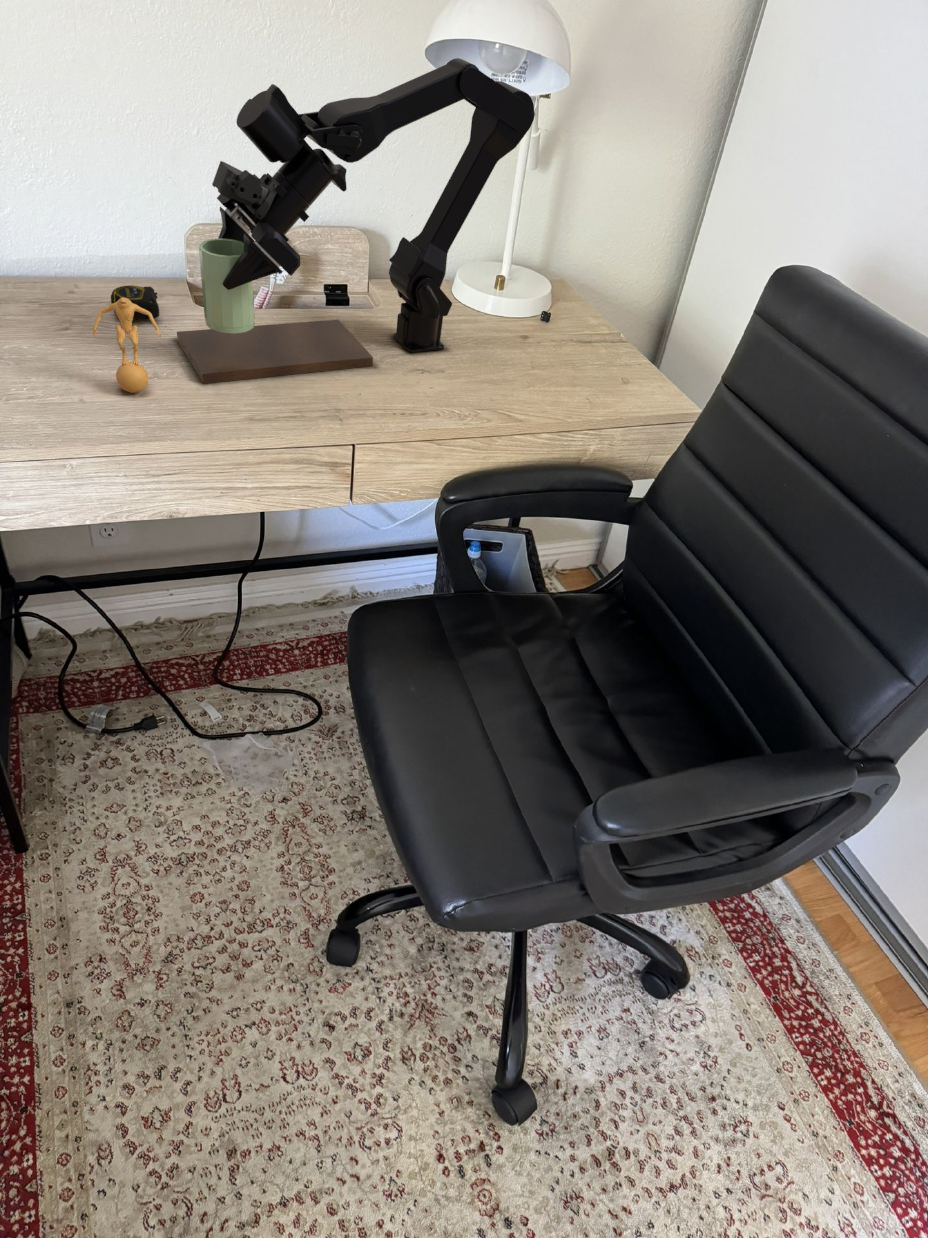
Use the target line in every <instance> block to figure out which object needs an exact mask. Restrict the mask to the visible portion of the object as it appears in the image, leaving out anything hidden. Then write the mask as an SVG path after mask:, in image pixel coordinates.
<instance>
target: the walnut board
mask: <svg viewBox="0 0 928 1238" xmlns="http://www.w3.org/2000/svg"><path fill="white" fill-rule="evenodd" d="M176 339H177V340H176V341H177V342H178V344H179V346H180V348H181V350H182V351H183V352H184V354H185V356H186V358H187V359H188V361H189V362H190V364H191V366H192V368H193V370H194V371H195V373H196V374H197V376H198V378H199V379H200V381H201V382H202V384H203V385H205V384H213V383H214V384H215V383H222V382H224V383H225V382H232V381H242V380H243V381H244V380H253V379H263V378H271V377H280V376H290V375H291V376H292V375H301V374H310V373H319V372H329V371H338V370H347V369H357V368H366V367H367V368H369V367H373V362H374V357H373V355H372V354H371V353H370V352H369V351H368V350H367V349H366V347H364V346H363V344H362V343H361V342H360V341H359V339H357V338H356V336H354V334H352V332H351V331H350V330H349V329H348V328H347V327H346V326H345V325H344V324H343V323H342V322H341V320H340V319H327V320H314V321H299V322H286V323H273V324H261V325H254V327H253V328H252V329H251V330H249V331H247V332H243V333H222V332H218V331H215V330H212V329H210V328H207V329H193V330H181V331H180V330H179V331H176Z"/></svg>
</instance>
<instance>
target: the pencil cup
mask: <svg viewBox="0 0 928 1238" xmlns="http://www.w3.org/2000/svg"><path fill="white" fill-rule="evenodd" d="M198 251H199V252H198V255H199V266H200V267H199V268H200V278H201V291H202V302H203V314H204V321H205V322H204V323H205V325H206V326H207V328H208V329H212V330H215V331H218V332H222V333H243V332H247V331H249V330H251V329H252V328H253V327H254V326H256V323H255V318H256V316H255V315H256V314H255V293H254V291H255V290H254V281H251V282H248V283H246V284H243V285H241V286H238V287H236V288H233V289H230V290H228V289H226V288H225V287H224V286H223V282H224V280H225V278H226V277H227V275H228V273H229V272H230V270H231V269H232V267H233V266H234V264H235V263H236V261H237V260H238V258H239V257H240V256H241V254H242V253H243V251H244V242H241V241H237V240H233V239H222V238H221V239H218V238H210V239H205V240H203V241H201V242H200V243H199V245H198Z"/></svg>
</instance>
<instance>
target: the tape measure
mask: <svg viewBox="0 0 928 1238" xmlns="http://www.w3.org/2000/svg"><path fill="white" fill-rule="evenodd" d="M121 297H123V298H127V299H129V300H130V301H131V302H132V303H133V304H136V305H138V306H139V307H141V308H143V309H145V310H147V311H149V312H150V313H151V314H152V316H153V319H154V320H155V319H157V318H159V316H160V307H159V303H158V301H157V299H158V292H155V289H154V288H153V287H152V286H138V285H132V284H131V285H130V284H129V285H121V286H118V287H116V288H114V289H113V290H112V292H111V295H110V305H111V304H112V303H116V302H117V301H118V300H119V299H120V298H121ZM113 312H114V314H116V311H115V310H113ZM146 320H150V318H149V316H148V315H145V314H143V313H140V312H137V311H135V312H134V316H133V320H132V321H146Z"/></svg>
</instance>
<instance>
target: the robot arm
mask: <svg viewBox="0 0 928 1238" xmlns="http://www.w3.org/2000/svg"><path fill="white" fill-rule="evenodd" d="M463 100H464V101H466V102H467V103H469V104H470V105H471V106H473V107H475V108H474V112H473V113H472V117H471V124H470V134H469V141H468V144H466V147H465V149H464V151H463V153H462V155H461V157H460V158H459V160H458V162H457V164H456V165H455V168H454V169H453V171H452V174H451V175H450V177H449V179H448V180H447V183H446V185H445V187H444V189H443V190H442V192H441V193H440V196H439V198H438V200H437V202H436V203H435V206H434V207H433V209H432V211H431V213H430V215H429V217H428V218H427V220H426V223H425V225H423V228H422V230H421V231H420V233H418V235H416V236H415V237H414V238H412V239H410V240H409V239H408V238H406V236H405V237H404V236H403V237H401V239H400V241H399V243H398V246H397V248H396V249H395V252H394V254H393V255H392V256H391V257H390V258H389V259H388V261H389V262H390V263H391V264H390V266H389V269H388V275H389V280H390V283H391V284H392V286H393V287H394V288H395V289H396V292H397V295H398V297H399V298H400V299H402V300H403V301H404V302H401V303H400V312H399V313H398V314H397V317H396V318H397V319H396V329H395V330H396V331H395V333H393V338H395V339H396V341H398V342H399V343H400V344H401V346H403V348H404V349H406V351H407V352H409V353H420V352H421V353H422V352H430V351H441V350H445V345H444V344H443V343H442V342H441V339H442V338H441V336H442V329H443V328H442V327H443V322H444V317H447V316H448V315H449V312H450V311H451V308H452V306H453V302H452V301H451V300H450V299H449V297H448V296H447V295H446V294H445V292H444V291H443V290H442V289H441V287H442V285H443V282H444V279H445V277H446V274H447V263H448V253H449V251H450V249H451V247H452V245H453V243H454V241H455V240H456V238H457V236H458V234H459V233H460V231H461V229H462V227H463V225H464V223H465V222H466V219H467V218H468V216H469V215H470V212H471V211H472V209H473V207H474V205H475V204H476V201H477V200H478V198H479V196H480V194H481V192H482V191H483V189H484V187H485V185H486V184H487V182H488V180H489V178H490V176H491V175H492V173H493V170H494V169H495V168H496V165H497V164H498V162H499V161H500V160H501V159H502V158H504V157H505V156H507V155H508V154H509V153H511V152H512V151H513V150H515V149H516V148H517V147H518V146H519V144H520V143H521V142H522V140H523V139H524V138H525V136H526V135H527V133H528V132H529V131H530V130H531V128H532V126H533V123H534V121H535V118H536V117H535V116H536V112H535V104H534V101H533V97H531V95H529V93H527V92H526V91H524V90H521V89H519V88H517V87H515V86H513V85H512V84H509V83H507V82H504V81H501V80H495V79H493V78H491V77H490V76H488V75H487V74H485V73H484V72H483V71H481V70H480V69H479V68H478V66H477V65H476V64H474V63H472V62H469V61H467V60H465V59H462V58H459V57H456V58H452V59H450V60H449V61H448V62H446V64H444V65H442V66H439V67H437V68H435V69H433V70H431V71H428V72H426V73H424V74H421V75H419V76H417V77H415V78H413V79H410V80H408V81H405V82H404V83H401V84H399V85H397V86H395V87H392V88H390V89H388V90H386V91H384V92H381V93H379V94H377V95H372V96H368V97H367V96H364V97H349V98H345V99H340V100H336V101H331V102H328V103H326V104H324V105H323V106H322V107H320V109H318V111H313V112H304V113H298V112H297V110H296V109H295V108H294V107H293V106H292V105H291V104H290V102H289V100H288V97H287V96H286V94H285V93H284V92H283V91H282V90H281V88H280V87H279V86H277V85H276V84H274V83H271V85H270V86H269V87H268V88H267V89H266V90H262V91H261V92H259V93H257V94H256V95H254V96H253V97H252V98H249V99H247V100H246V102H245V103H244V104H243V105H242V107H241V109H239V112H238V115H237V117H236V126H237V127H238V128H239V129H240V131H241V132H242V133H243V134H244V135H245V136H246V137H247V138H248V139H249V141H250V142H251V143H252V144H253V145H254V146H255V147H256V149H258V151H259V152H260V153H261V154H262V155H263V156H264V157H265V158H266V160H267V161H268V162H269V163H272V164H273V163H278V162H280V163H281V164H282V165H281V166H280V167H279V168H278V170H277V171H276V172H275V173H274V174H273V175H271V174H269V173H268V172H266V173H263V174H262V175H261V177H258V176H257V175H256V174H253V173H250V172H249V171H248V170H247V169H244V170H243V171H242V170H241V169H239V168H238V167H237V168H236V167H235V166H233V165H231V164H229V163H227V162H226V161H223V160H220V161H219V164H218V166H217V169H216V172H215V174H214V175H215V176H214V178H213V181H212V183H211V184H212V185H211V186H212V187H213V188H216V189H217V192H218V193H219V194H218V196H217V197H216V199H217V201H219V203H220V204H221V205H222V206H223V207H224V208H225V209H224V208H223V207H222V206H219V212H220V216H221V217H220V218H221V226H222V227H221V229H220V232H219V235H218V237H217V239H221V238H222V239H233V240H237V241H241V242H244V251H243V253H242V254H241V256H240V257H239V258H238V260H237V261H236V263H235V264H234V266H233V267H232V269H231V270H230V272H229V273H228V275H227V277H226V278H225V280H224V282H223V286H224V287H225V288H226V289H228V290H230V289H233V288H236V287H238V286H241V285H243V284H246V283H248V282H251V281H253V282H254V281H256V280H259V279H262V278H265V277H268V276H272V275H275V274H279V275H280V274H282V273H283V272H284V271H285V272H286V273H287V274H288V275H289V276H290V277H292V276H293V275H294V274H295V273H296V271H297V270H298V269H299V268H300V267H301V255H300V254H299V253H298V252H297V250H296V249H294V248H293V246H291V245H290V243H288V242H289V240H290V239H289V238H288V237H287V236H286V234H287V233H288V232H289V231H290V230H291V229H292V227H293V226H295V224H296V223H297V222H298V221H299V220H301V221H303V223H306V221H307V220H308V219H309V218H310V216H309V214H308V213H307V211H308V209H309V208H310V207H311V206H312V204H313V203H314V202H315V201H316V200H317V199H318V198H319V197H320V196H321V195H322V194H323V192H325V190H326V189H327V187H329V185H330V184H331V183H332V184H333V185H334V186H336V187H337V188H338V189H339V190H340V191H342V192H346V191H347V189H348V188H347V177H346V175H347V168H346V167H344V166H343V165H342V164H340V163H338V164H336V163H334V161H332V160H331V158H330V157H329V155H327V153H326V152H325V151H324V149H325V150H327V151H329V152H330V153H331V154H333V155H334V156H335V157H336V158H338V159H339V160H341V161H343V162H345V163H350V164H352V163H357V162H359V161H361V160H362V159H364V158H365V157H367V156H368V155H369V154H371V153H372V152H373V151H375V150H377V149H378V148H379V147H380V146H381V144H382V143H383V142H384V141H385V139H386V138H387V137H388V136H389V135H390V134H392V133H394V132H395V131H397V130H399V129H401V128H403V127H406V126H408V125H410V124H413V123H415V122H417V121H418V120H421V119H423V118H426V117H428V116H430V115H433V114H435V113H437V112H439V111H441V110H444V109H445V108H447V107H450V106H452V105H454V104H456V103H459V102H461V101H463ZM306 138H309V139H310V140H311V141H312V142H313V143H315V144H316V145H317V146H319V147H320V148H314V149H313V148H312V146H311V145H309V143H308V142H307V141H306V140H305V139H306ZM250 233H251V235H250ZM280 267H281V268H282V269H283V270H284V271H283V270H282V269H281V268H280Z"/></svg>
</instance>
